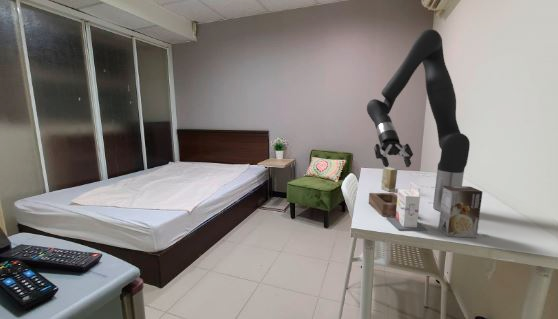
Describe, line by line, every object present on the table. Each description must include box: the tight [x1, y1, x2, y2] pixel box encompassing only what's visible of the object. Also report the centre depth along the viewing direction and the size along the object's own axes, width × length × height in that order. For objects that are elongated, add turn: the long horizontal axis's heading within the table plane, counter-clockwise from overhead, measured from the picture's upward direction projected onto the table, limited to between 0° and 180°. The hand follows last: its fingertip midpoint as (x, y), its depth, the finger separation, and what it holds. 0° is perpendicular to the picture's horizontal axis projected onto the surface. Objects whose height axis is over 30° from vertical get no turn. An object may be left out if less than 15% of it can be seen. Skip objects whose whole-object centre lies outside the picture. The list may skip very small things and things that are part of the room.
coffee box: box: [438, 185, 483, 239], centre depth 84 cm, size 9×6×16 cm
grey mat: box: [385, 217, 428, 231], centre depth 92 cm, size 10×10×1 cm
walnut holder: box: [368, 192, 398, 217], centre depth 106 cm, size 11×15×5 cm
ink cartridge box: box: [395, 181, 421, 228], centre depth 91 cm, size 9×5×15 cm, turn 173°
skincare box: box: [380, 166, 398, 193], centre depth 134 cm, size 6×4×12 cm
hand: (398, 166), depth 98 cm, fingers open, 8 cm apart
